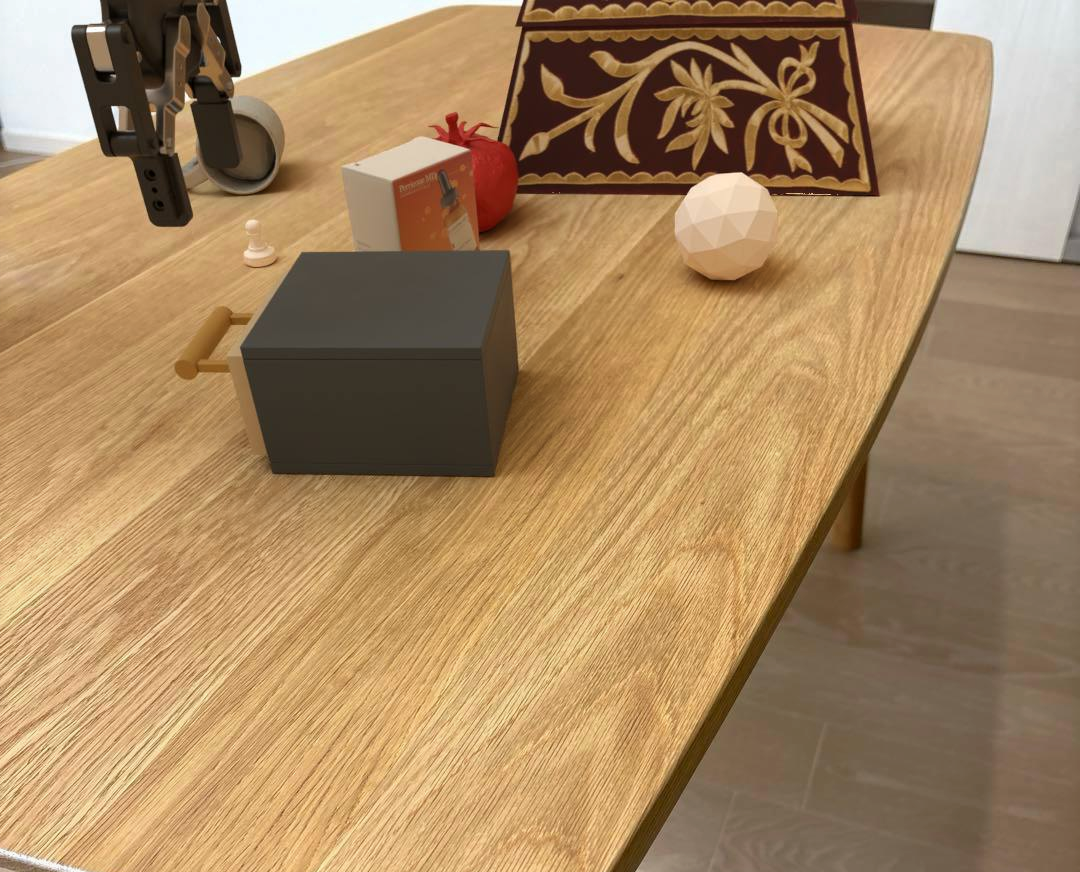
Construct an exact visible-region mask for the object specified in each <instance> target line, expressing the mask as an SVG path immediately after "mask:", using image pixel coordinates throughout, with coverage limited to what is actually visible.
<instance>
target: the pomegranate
mask: <svg viewBox="0 0 1080 872" xmlns="http://www.w3.org/2000/svg"><path fill="white" fill-rule="evenodd" d="M444 119H445V120H444V121H445V123H446V124H447V125H448V127H447V128H448V131H447V130H445V129H444V128H443V127H442V126H440V125H437V124H432V125H427V128H434V129H435V130H436V132H437V134H438V135H439V136H437V137H430V138H431V139H434V140H438V141H442V142H445V143H449V144H453V145H456V146H460V147H464V148H467V149H470V150H471V154H472V165H473V177H474V188H475V199H476V210H477V222H478V233H483V232H486V231H488V230H490V229H494V228H495V226H496V225H497V224H498V223H499V222H501V221H502V220H503V219H504V218H505V217H506V216H507V215H508V214H509V212H510V211H511V210H512V209H513V207H514V203H515V199H516V195H517V193H516V192H517V187H518V169H517V164H516V161H515V156H514V154H513V152H512V151H511V149H510V148H509V147H508V146H507V145H506V144H504V143H502V142H499V141H497V139H496V140H495V139H492V138H490V137H488V135H484V134H483V135H482V134H479V133H477V131H478V130H479V129H480V128H482V127H483V128H491V129H500V126H493V125H490V124H488V123H486V122H479V123H477V124H475V125H474V126H472V127H470V128H469V129H468V130H465V125H467V124H468V122H467V121H465V120H462V121H461V122H460V124H459V125H458V121H459V114H458V112H456V111H454V112H449V113H448V114H446V115H445V118H444Z"/></svg>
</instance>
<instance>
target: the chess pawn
mask: <svg viewBox="0 0 1080 872" xmlns="http://www.w3.org/2000/svg"><path fill="white" fill-rule="evenodd" d="M244 228H245V230H246V235H247V236H249V244H248V246H247V248H248V249H246V250H245V251H244V252H243V259H244V263H245V264H246V265H247V266H250V267H253V268H261V267H266V266H269V265H271V264H273V263H274V262H275V261H276V260H277V254H276V251H275V250H276V249H275V248H274V247H273V246H270V245H268V243H267V242H265V240H264V238H263V237H262V235H261V234H262V233H263V229H262V224H261V222H260V221H259V220H257V219H249V220H248V221H246V222H245V225H244Z"/></svg>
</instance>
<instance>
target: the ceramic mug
mask: <svg viewBox="0 0 1080 872" xmlns="http://www.w3.org/2000/svg"><path fill="white" fill-rule="evenodd" d="M228 99H229V100H231V104H232V109H233V113H234V118H235V122H236V127H237V131H238V136H239V141H240V145H241V150H242V154H243V161H242V162H241V163H240V164H239V166H238V167H236V168H223V169H213V168H209V167H208V166H207V165H206V164H205V163H204V160H203V156H202V152H201V148H200V144H199V140H198V136H197V135H196V140H195V154H196V155H195V156H193V157H192V158H191V159H190V160H189V161H187V162H186V163H185V164H184V165H182V166H181V169H182V172H183V176H184V180H185V184H186V188H187V190H188V189H192V188H196V187H198V186H199V185H201V184H203V183H205V182H206V181H208V180H209V181H210V182H211V183H212V184H213V185H215V186H216V187H217V188H219V189H221V190H223V191H225V192H227V193H230V194H235V195H252V194H255V193H256V194H257V193H258V192H261V191H262V190H264V189H266V188H267V187H268V186H270V185H271V183H272V182H273V181H274V179H276V176H277V175H278V172H279V168H280V167H281V166H280V165H281V161H282V157H283V154H284V150H285V145H286V134H285V129H284V126H283V122H282V120H281V118H280V116H279V115H278V113H277V112H276V110H274V108H273V107H272V106H271V105H270V104H268V103H267V102H265V101H264V100H263V99H260V98H258V97H256V96H253V95H244V94H243V95H234V96H233V98H228Z"/></svg>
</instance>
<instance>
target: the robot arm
mask: <svg viewBox="0 0 1080 872" xmlns="http://www.w3.org/2000/svg"><path fill="white" fill-rule="evenodd" d="M99 3H100V13H101V22H100V23H89V24H73V26H72V27H71V29H70V30H71V31H70V38H71V43H72V46H73V51H74V54H75V57H76V61H77V65H78V68H79V73H80V76H81V80H82V83H83V87H84V90H85V94H86V98H87V102H88V106H89V110H90V113H91V117H92V120H93V124H94V128H95V131H96V134H97V139H98V143H99V146H100V149H101V152H102V154H103V155H104V156H105V157H106V158H128V159H130V160H131V161H132V164H133V168H134V171H135V176H136V179H137V181H138V182H137V183H138V185H139V189H140V192H141V195H142V199H143V203H144V206H145V210H146V213H147V216H148V220H149V222H150V223H151V224H152V225H153V226H155V227H158V228H183V227H186V226H188V224H189V223H190V222H191V221H192V220H193V219H194V212H193V207H192V204H191V200H190V196H189V193H188V192H189V191H188V189H187V188H186V184H185V180H184V176H183V172H182V169H181V168H182V165H181V161H180V158H179V153H178V152H175V151H176V117H177V115H178V114H180V112H182V111H183V110H184V108H185V106H186V95H187V97H188V98H189V99H190V100H193V101H192V102H191V103H189V107H190V111H191V115H192V119H193V123H194V127H195V131H196V137H197V136H198V140H199V144H200V148H201V152H202V156H203V160H204V163H205V164H206V165H207V166H208V167H209V168H213V169H223V168H236V167H238V166H239V164H240V163H241V162H242V161H243V154H242V150H241V145H240V141H239V136H238V131H237V127H236V122H235V118H234V113H233V109H232V104H231V100H229V99H228V98H233V97H235V84H234V80H233V78H241V76H242V68H243V66H242V62H241V58H240V54H239V50H238V45H237V41H236V37H235V31H234V28H233V24H232V19H231V14H230V11H229V6H228V3H227V0H99ZM112 107H117V109H118V127H117V124H116V120H115V116H114V112H113V108H112ZM152 113H155V123H154V119H153V115H152Z"/></svg>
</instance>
